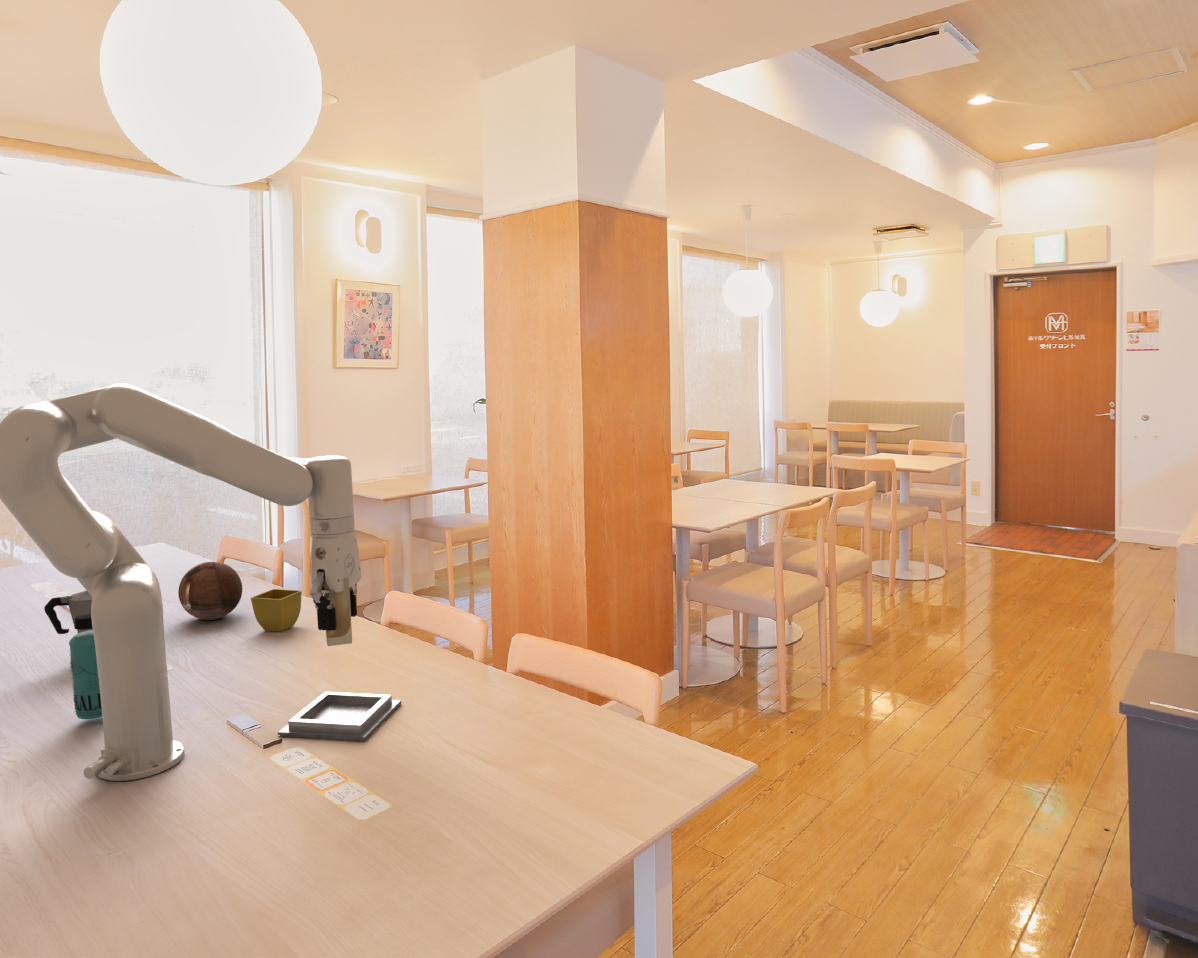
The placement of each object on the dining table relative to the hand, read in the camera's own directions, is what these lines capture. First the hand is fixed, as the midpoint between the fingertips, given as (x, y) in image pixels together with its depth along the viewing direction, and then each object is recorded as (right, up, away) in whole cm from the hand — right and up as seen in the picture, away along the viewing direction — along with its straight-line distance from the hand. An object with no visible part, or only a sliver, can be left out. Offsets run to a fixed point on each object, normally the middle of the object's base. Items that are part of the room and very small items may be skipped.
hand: (338, 622), depth 144 cm
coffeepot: (-66, -15, +34) cm, 76 cm away
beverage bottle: (-45, -19, +3) cm, 49 cm away
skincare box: (0, -4, 0) cm, 4 cm away
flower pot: (-33, -12, +56) cm, 67 cm away
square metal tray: (0, -18, +2) cm, 18 cm away
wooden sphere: (-54, -11, +66) cm, 86 cm away
